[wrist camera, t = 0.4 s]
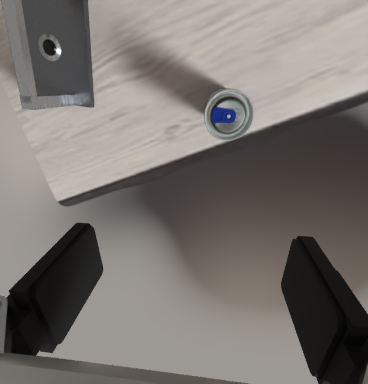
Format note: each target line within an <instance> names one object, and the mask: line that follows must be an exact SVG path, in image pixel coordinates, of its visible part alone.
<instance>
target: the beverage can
mask: <svg viewBox="0 0 368 384" xmlns="http://www.w3.org/2000/svg"><path fill="white" fill-rule="evenodd" d="M253 117H254V109H253V105H252V102H251V100H250V99H249V97H248V96H247V95H246V94H244V93H243V92H241V91H239V90H236V89H219V90H217V91H215V92H213V93H212V94H211V96H210V97H209V99H208V101H207V104H206V108H205V112H204V120H205V125H206V127H207V129H208V131H209V132H210V133H211V134H212V135H213V136H214V137H216V138H218V139H220V140H234V139H237V138H239V137H241V136H242V135H243V134H245V133H246V132H247V130H248V129H249V128H250V126H251V124H252V121H253Z"/></svg>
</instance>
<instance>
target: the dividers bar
mask: <svg viewBox="0 0 368 384" xmlns="http://www.w3.org/2000/svg"><path fill="white" fill-rule="evenodd" d="M1 1H2V6H3V11H4V16H5V21H6V26H7V32H8V37H9V42H10V47H11V52H12V57H13V62H14V67H15V72H16V77H17V82H18V87H19V92H20V95H19V96H20V101H21V106H22V108H23V109H30V110H38V109H46V108H54V107H62V106H71V105H74V101H73V95H70V94H41V95H37V93H36V87H35V81H34V75H33V69H32V63H31V57H30V51H29V45H28V39H27V33H26V27H25V21H24V15H23V9H22V3H21V0H1Z"/></svg>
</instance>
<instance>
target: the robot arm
mask: <svg viewBox="0 0 368 384" xmlns="http://www.w3.org/2000/svg"><path fill="white" fill-rule="evenodd" d="M102 272H103V265H102V260H101V256H100V252H99V247H98V243H97V239H96V235H95V230H94V228H93V227H91V225H90V224H89V223H76V224H75V225H74V226H73V227H72V228H71V229H70V230H69V231H68V232H67V233H66V234H65V235H64V236H63V237H62V238H61V239H60V240H59V241H58V242H57V243H56V244H55V245H54V246H53V247H52V248H51V249H50V250H49V251H48V252H47V253H46V254H45V255H44V256H43V257H42V258H41V259H40V260H39V261H38V262H37V263H36V264H35V265H34V266H33V267H32V268H31V269H30V270H29V271H28V272H27V273H26V274H25V275H24V276H23V277H22V278H21V279H20V280H19V281H18V282H17V283H16V284H15V285H14V286H13V287H12V288H11V289H10V290H9V292H10V295H9V296H8V297H7V298H5V297H4V296H0V384H248V383H241V382H233V381H226V380H219V379H212V378H205V377H197V376H190V375H182V374H174V373H167V372H160V371H152V370H144V369H137V368H130V367H122V366H114V365H106V364H99V363H90V362H83V361H75V360H66V359H59V358H51V357H41V356H36V355H37V353H38V352H39V350H40V351H41V352H49V353H53V351H54V350H55V348H56V346H57V345H58V344H60V343H62V341H63V340H64V338H65V337H66V335H67V333H68V331H69V330H70V328H71V326H72V325H73V323H74V321H75V319H76V318H77V316H78V314H79V313H80V311H81V309H82V307H83V306H84V304H85V302H86V301H87V299H88V297H89V296H90V294H91V292H92V291H93V289H94V287H95V285H96V284H97V282H98V280H99V279H100V277H101V275H102ZM281 288H282V292H283V295H284V298H285V301H286V304H287V306H288V309H289V312H290V315H291V318H292V321H293V324H294V327H295V330H296V333H297V336H298V338H299V341H300V344H301V347H302V350H303V353H304V356H305V359H306V361H307V364H308V368H309V370H310V373H311V374H312V376H315V377H316V378H317V381H318V383H319V384H368V314H367V313H366V311H365V310H364V308H363V307H362V305H361V304H360V302H359V301H358V300H357V298H356V297H355V295H354V294H353V292H352V291H351V289H350V288H349V286H348V285H347V283H346V282H345V280H344V279H343V278H342V276H341V275H340V273H339V272H338V271H337V270H335V269H334V267H333V266H332V264H331V263H330V262H329V260H328V258H327V257H326V255H325V254H324V253H323V251H322V249H321V248H320V246H319V245H318V244H317V242H316V240H315V239H314V238H313V237H307V236H298V237H297V238H296V239H293V240H292V243H291V247H290V251H289V255H288V259H287V263H286V266H285V270H284V274H283V278H282V282H281Z"/></svg>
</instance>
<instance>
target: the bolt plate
mask: <svg viewBox="0 0 368 384" xmlns="http://www.w3.org/2000/svg"><path fill="white" fill-rule="evenodd" d="M21 3H22V9H23V15H24V21H25V27H26V33H27V39H28V45H29V51H30V57H31V63H32V69H33V75H34V81H35V87H36V93H37V95H41V94H70V95H73V101H74V105H77V106H84V107H94V95H93V78H92V62H91V45H90V29H89V12H88V0H21Z"/></svg>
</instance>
